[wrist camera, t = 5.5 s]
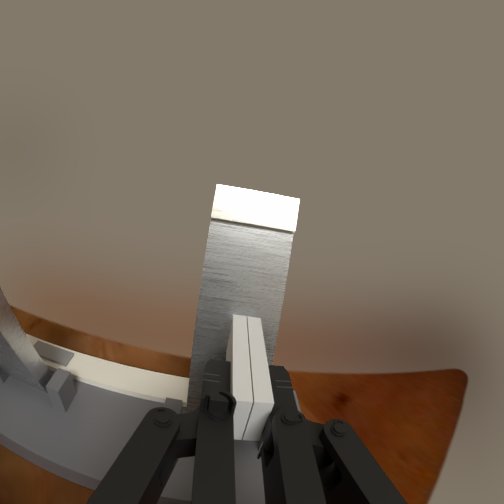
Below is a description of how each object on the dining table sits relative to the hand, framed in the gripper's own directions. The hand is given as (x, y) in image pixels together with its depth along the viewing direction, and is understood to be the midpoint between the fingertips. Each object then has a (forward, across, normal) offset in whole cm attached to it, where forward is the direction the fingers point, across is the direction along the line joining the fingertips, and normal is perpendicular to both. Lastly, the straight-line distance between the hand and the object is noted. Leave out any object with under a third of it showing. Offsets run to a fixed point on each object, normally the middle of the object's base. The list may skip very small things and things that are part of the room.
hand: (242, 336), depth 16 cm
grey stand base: (-1, -8, -12) cm, 15 cm away
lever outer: (-1, 0, -8) cm, 8 cm away
